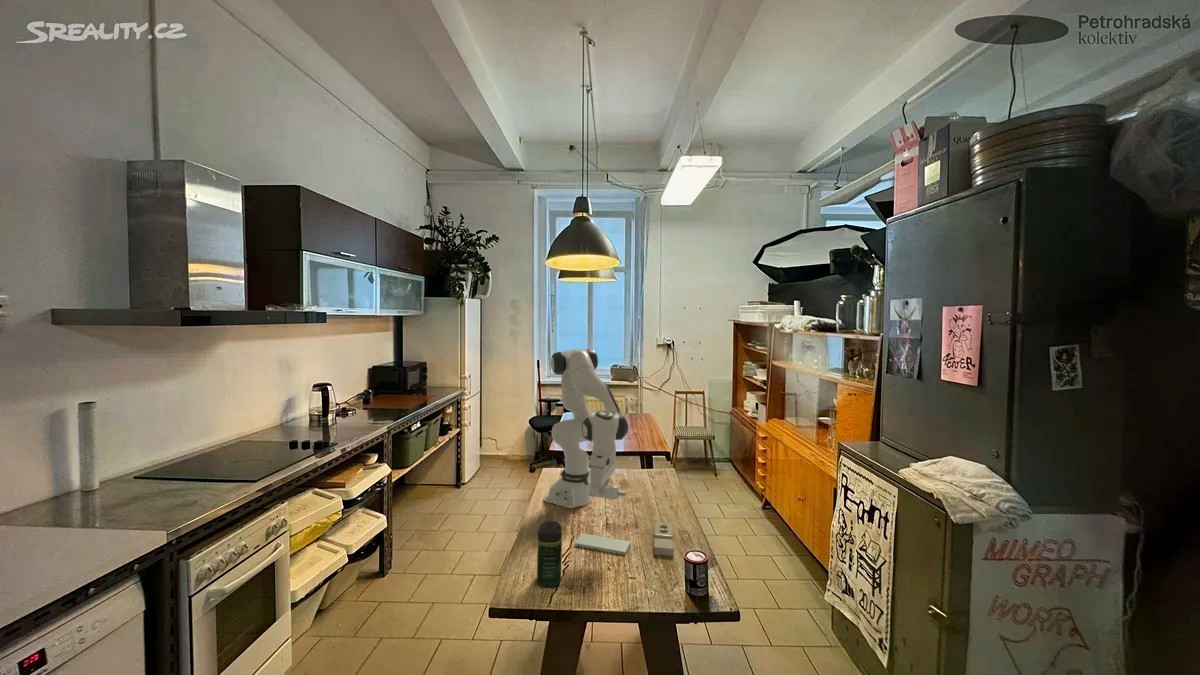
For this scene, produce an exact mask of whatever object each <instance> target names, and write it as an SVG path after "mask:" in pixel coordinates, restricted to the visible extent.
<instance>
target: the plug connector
mask: <svg viewBox="0 0 1200 675" xmlns="http://www.w3.org/2000/svg"><path fill="white" fill-rule="evenodd" d="M603 487H604V493H603V495H601V494H599V490H598V488H593V487H592V486H591V482H590V481H589V484H588V495H590V496H591V497H594V498H595V497H596V498H603V499H610V500H618V499H619V498H620V497H626V495H627V494H628V493H627V490H623V489H620V485H618V484H612V483H608V484H607V483H604V486H603Z"/></svg>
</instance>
